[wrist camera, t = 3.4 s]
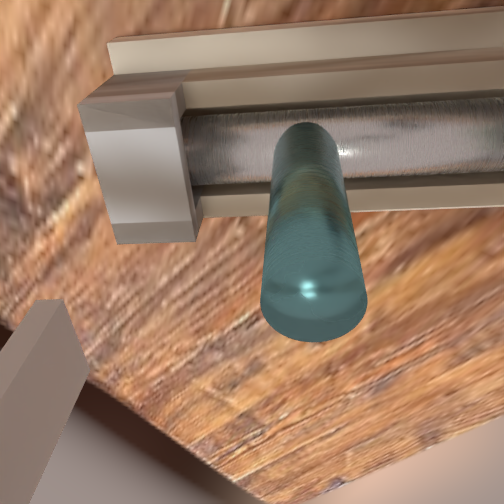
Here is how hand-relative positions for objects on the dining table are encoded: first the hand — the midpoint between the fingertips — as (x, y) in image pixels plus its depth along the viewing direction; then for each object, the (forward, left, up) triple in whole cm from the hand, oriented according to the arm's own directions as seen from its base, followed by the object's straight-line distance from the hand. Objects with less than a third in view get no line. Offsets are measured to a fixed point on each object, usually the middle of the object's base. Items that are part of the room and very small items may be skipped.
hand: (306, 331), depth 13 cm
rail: (0, +5, -16) cm, 17 cm away
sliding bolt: (0, +2, -15) cm, 15 cm away
